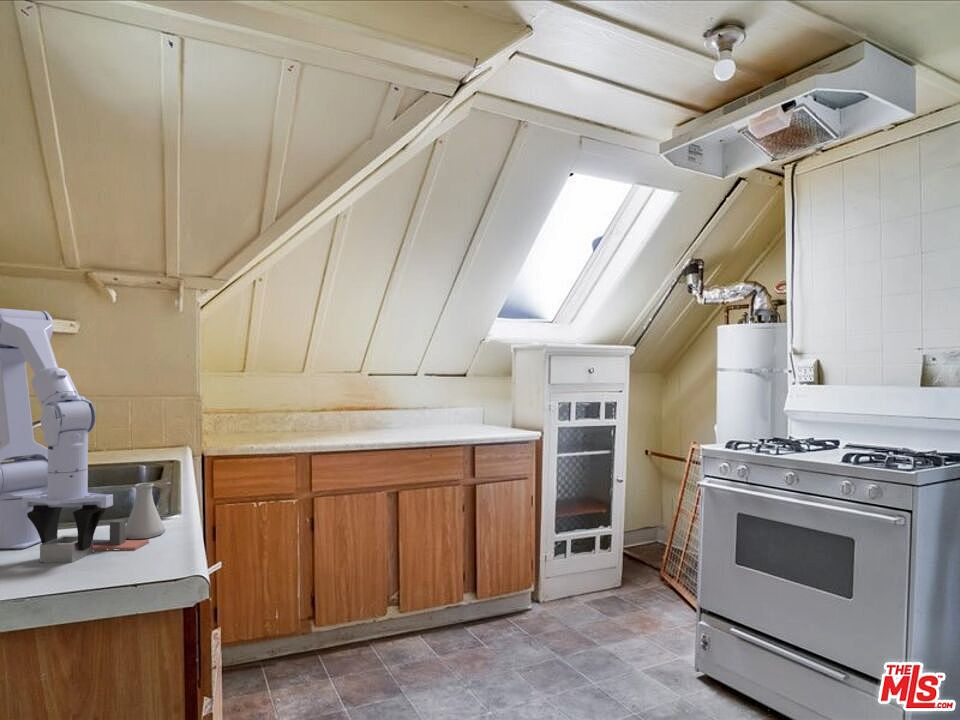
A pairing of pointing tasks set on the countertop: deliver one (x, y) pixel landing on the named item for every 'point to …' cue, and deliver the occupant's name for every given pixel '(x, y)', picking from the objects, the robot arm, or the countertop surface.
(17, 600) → the countertop surface
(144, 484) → the flask
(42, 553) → the link
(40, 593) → the countertop surface
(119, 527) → the keeper hook
